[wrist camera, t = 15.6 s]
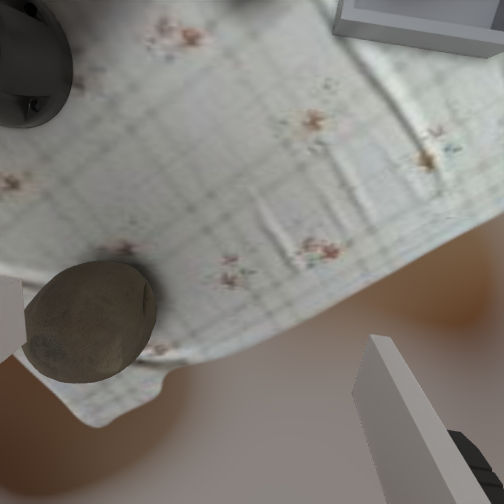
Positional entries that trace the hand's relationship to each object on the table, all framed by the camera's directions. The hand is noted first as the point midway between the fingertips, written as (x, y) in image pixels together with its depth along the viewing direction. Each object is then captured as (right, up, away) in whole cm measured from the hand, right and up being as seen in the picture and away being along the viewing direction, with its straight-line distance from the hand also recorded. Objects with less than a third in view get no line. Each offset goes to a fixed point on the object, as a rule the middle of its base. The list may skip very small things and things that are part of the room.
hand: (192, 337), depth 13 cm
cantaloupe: (-16, -3, +35) cm, 39 cm away
